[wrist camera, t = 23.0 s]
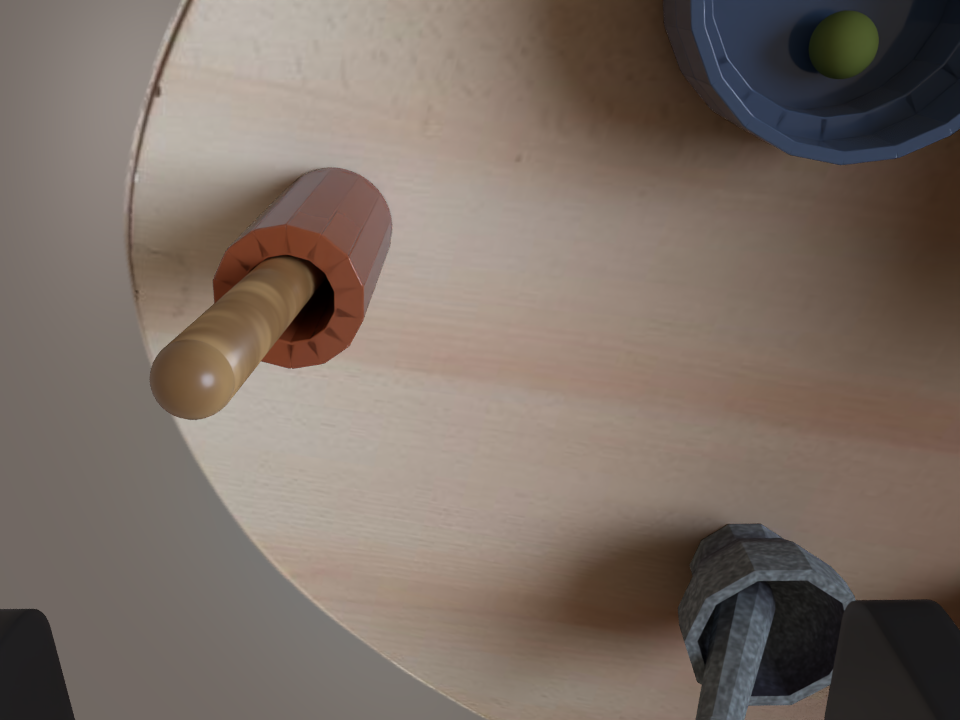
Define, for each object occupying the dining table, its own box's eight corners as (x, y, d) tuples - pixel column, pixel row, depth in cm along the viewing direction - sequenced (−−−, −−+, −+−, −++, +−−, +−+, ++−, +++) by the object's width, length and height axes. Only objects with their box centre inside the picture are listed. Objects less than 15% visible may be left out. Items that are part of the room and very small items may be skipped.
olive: (786, 60, 42) (824, 4, 41) (836, 95, 42) (874, 40, 42) (809, 50, 39) (849, -10, 39) (863, 87, 39) (904, 28, 39)
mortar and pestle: (771, 470, 52) (850, 601, 41) (846, 574, 55) (938, 723, 44) (613, 565, 54) (647, 712, 43) (692, 659, 57) (742, 819, 46)
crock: (259, 247, 46) (190, 328, 35) (307, 145, 44) (249, 197, 33) (361, 298, 48) (324, 392, 36) (412, 201, 45) (390, 270, 34)
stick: (303, 238, 45) (123, 408, 24) (322, 198, 45) (154, 337, 24) (344, 260, 46) (202, 447, 25) (364, 221, 45) (235, 378, 24)
